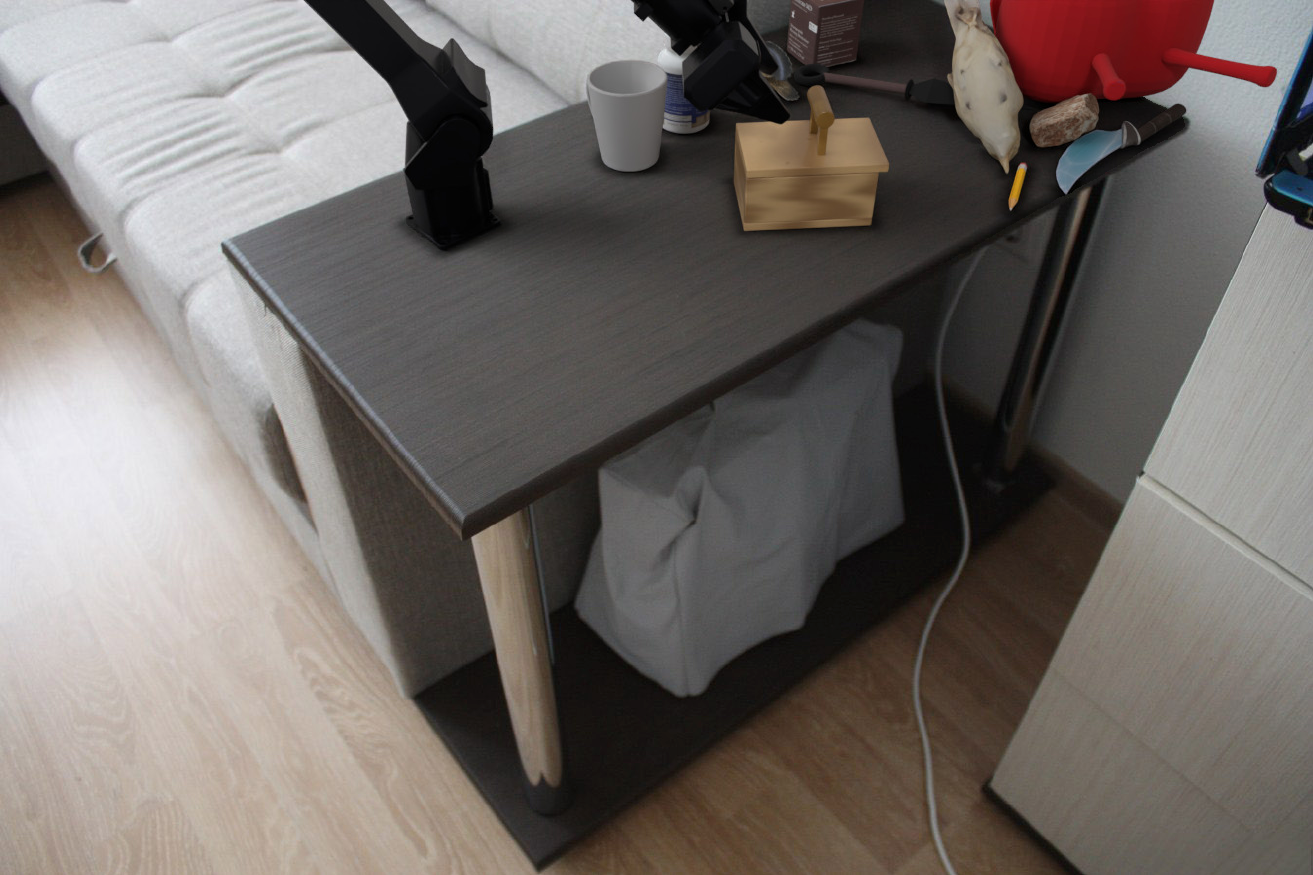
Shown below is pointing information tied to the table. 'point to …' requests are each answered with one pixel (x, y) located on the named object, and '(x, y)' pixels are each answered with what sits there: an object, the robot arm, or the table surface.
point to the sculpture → (984, 82)
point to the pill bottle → (679, 94)
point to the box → (824, 31)
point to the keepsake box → (803, 199)
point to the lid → (811, 144)
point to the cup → (628, 112)
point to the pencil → (1017, 185)
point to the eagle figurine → (781, 73)
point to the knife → (1107, 145)
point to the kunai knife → (886, 86)
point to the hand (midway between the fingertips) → (780, 94)
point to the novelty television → (1108, 47)
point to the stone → (1064, 121)
